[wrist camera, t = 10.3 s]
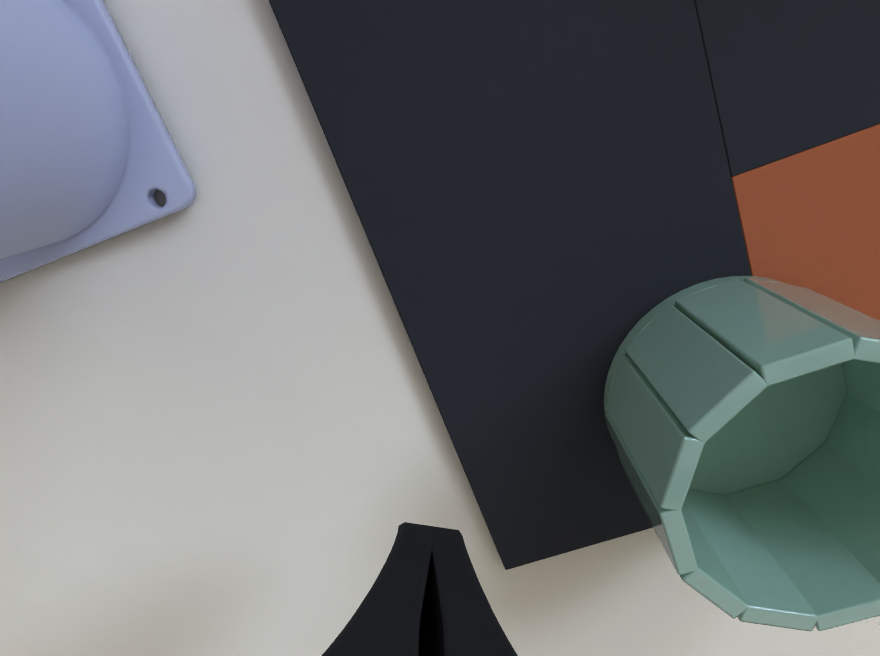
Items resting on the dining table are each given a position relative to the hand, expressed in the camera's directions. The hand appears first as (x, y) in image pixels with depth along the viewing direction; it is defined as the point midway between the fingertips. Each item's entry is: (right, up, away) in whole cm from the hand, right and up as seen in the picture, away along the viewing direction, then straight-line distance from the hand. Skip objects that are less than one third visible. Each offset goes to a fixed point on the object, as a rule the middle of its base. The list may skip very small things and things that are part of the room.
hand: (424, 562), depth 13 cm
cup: (+9, +3, +5) cm, 11 cm away
